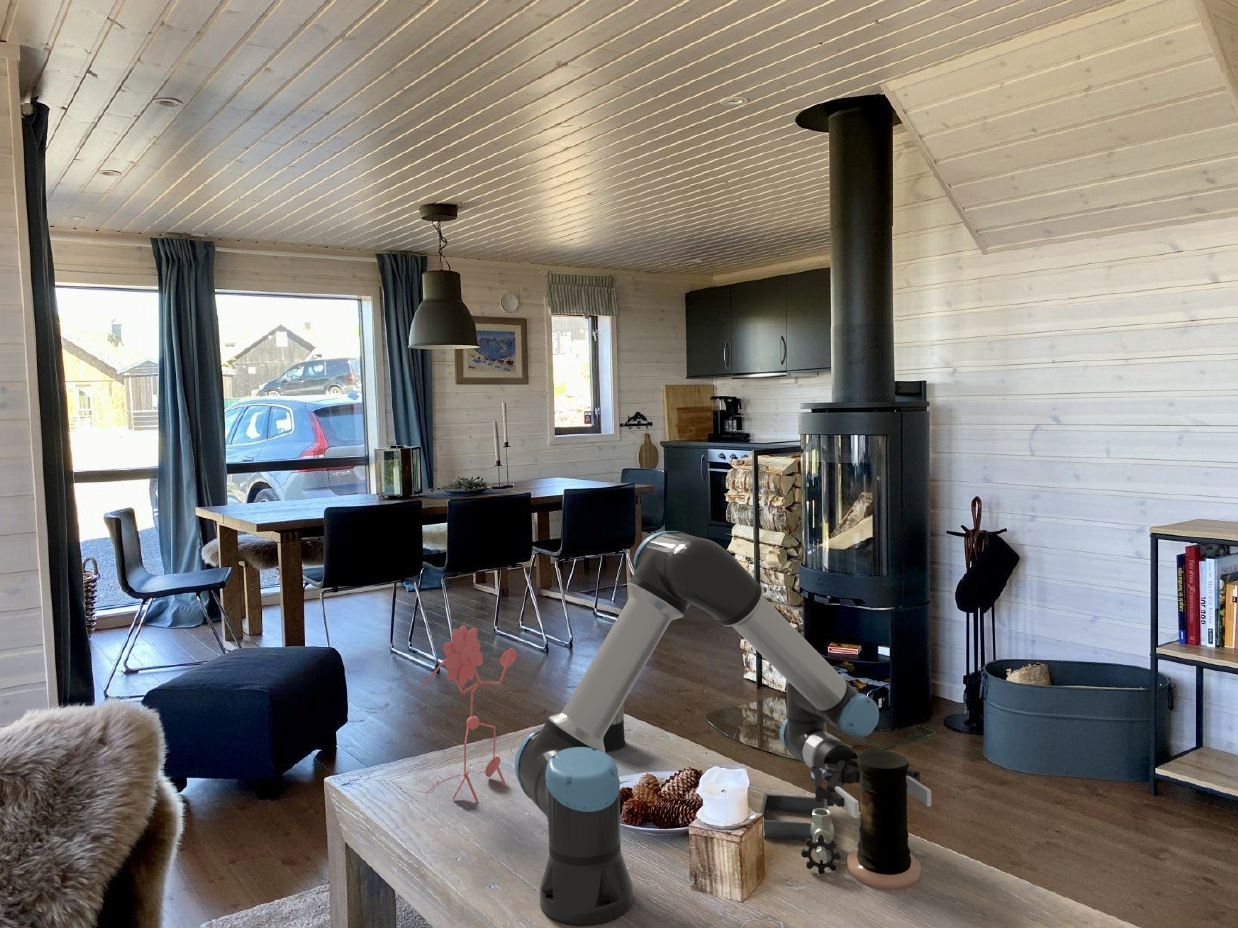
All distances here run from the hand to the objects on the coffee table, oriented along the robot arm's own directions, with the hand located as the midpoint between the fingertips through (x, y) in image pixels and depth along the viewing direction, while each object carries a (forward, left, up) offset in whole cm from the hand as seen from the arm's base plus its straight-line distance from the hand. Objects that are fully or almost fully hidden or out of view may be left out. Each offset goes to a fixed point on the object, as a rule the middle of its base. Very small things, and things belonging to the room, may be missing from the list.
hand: (893, 804), depth 155 cm
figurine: (+23, +87, -13) cm, 91 cm away
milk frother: (+50, +67, -13) cm, 84 cm away
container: (+3, +2, -12) cm, 12 cm away
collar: (+18, +18, -13) cm, 28 cm away
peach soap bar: (+3, +2, -13) cm, 13 cm away
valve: (+6, +12, -13) cm, 19 cm away
